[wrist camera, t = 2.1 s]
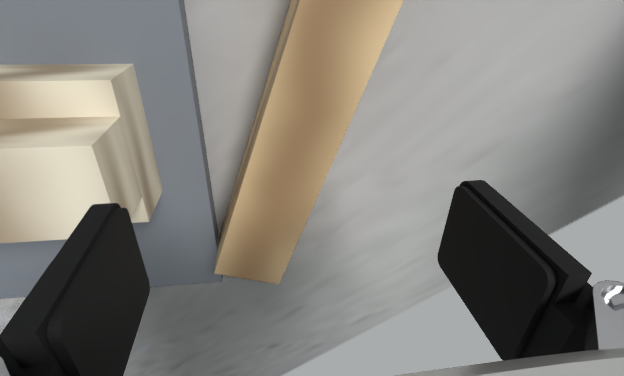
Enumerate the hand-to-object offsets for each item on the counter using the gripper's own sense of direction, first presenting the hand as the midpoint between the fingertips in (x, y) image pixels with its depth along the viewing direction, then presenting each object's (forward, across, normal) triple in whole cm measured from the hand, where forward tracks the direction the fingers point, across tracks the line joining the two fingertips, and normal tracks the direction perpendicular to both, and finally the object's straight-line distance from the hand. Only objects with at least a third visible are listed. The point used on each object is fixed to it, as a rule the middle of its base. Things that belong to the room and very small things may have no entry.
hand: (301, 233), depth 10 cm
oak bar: (+12, -1, 0) cm, 12 cm away
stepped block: (+10, +11, +1) cm, 15 cm away
